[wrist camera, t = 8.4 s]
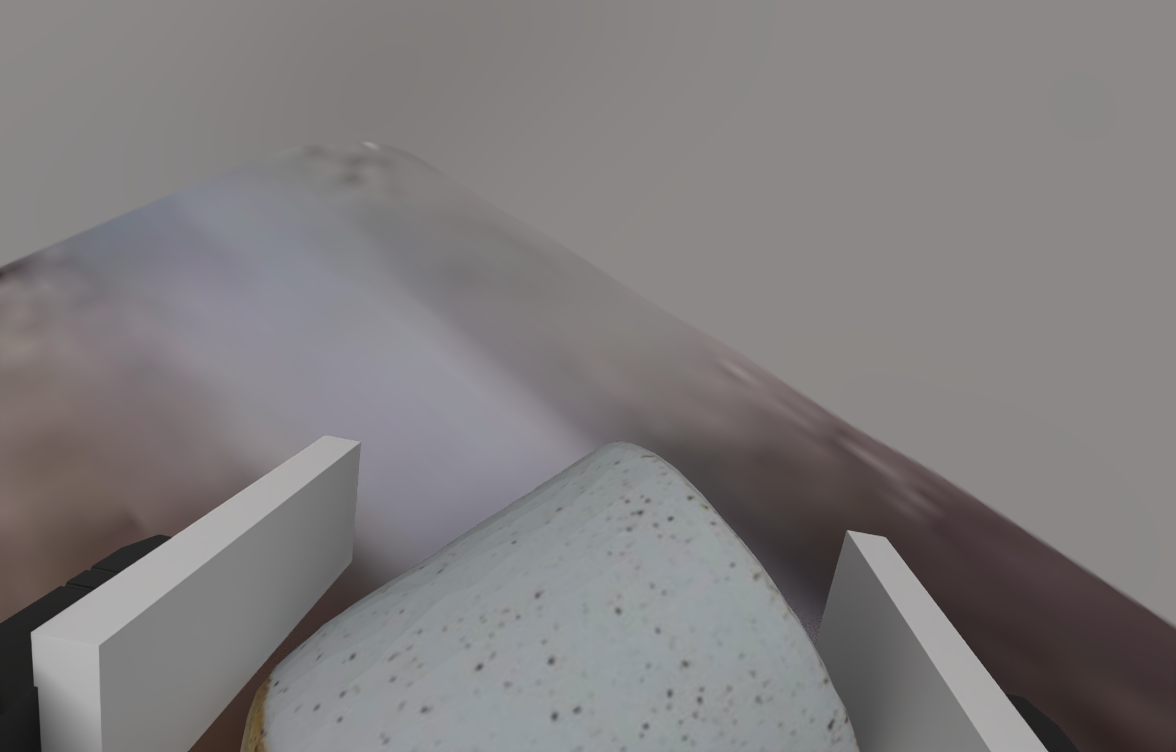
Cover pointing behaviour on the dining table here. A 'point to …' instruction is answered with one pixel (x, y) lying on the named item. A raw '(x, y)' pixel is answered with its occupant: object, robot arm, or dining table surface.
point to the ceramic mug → (566, 637)
